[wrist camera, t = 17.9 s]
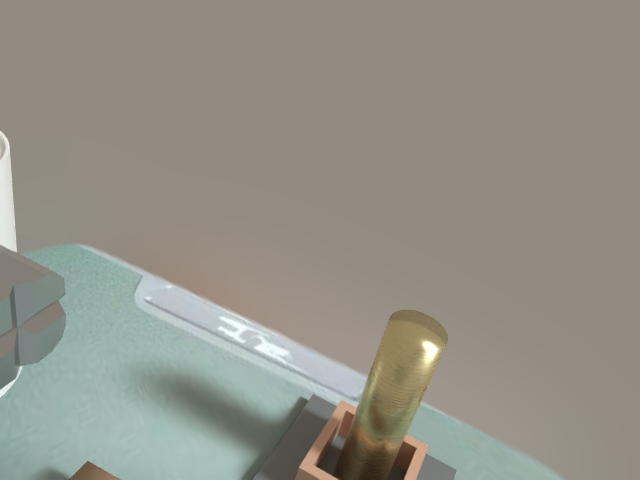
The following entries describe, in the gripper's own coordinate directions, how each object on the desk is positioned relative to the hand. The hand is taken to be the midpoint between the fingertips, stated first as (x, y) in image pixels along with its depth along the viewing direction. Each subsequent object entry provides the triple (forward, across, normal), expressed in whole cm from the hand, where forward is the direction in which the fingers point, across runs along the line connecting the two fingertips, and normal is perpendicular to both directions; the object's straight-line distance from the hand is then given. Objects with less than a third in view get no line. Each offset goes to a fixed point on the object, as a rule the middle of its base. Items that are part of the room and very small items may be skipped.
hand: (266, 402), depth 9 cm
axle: (+25, -2, +31) cm, 40 cm away
